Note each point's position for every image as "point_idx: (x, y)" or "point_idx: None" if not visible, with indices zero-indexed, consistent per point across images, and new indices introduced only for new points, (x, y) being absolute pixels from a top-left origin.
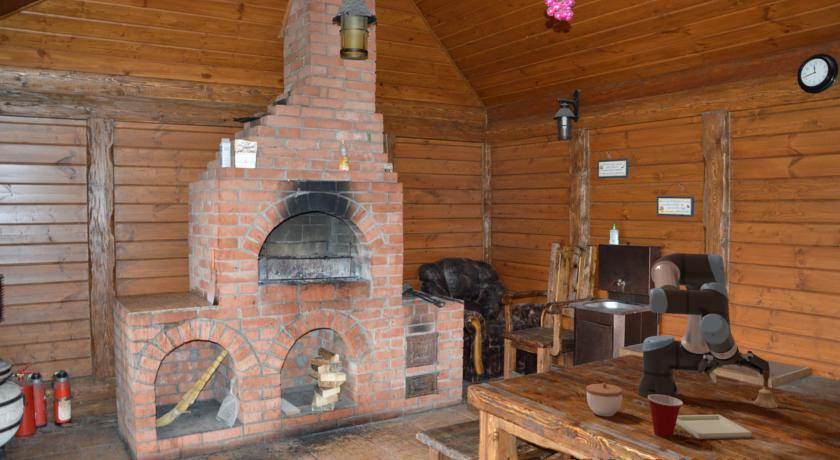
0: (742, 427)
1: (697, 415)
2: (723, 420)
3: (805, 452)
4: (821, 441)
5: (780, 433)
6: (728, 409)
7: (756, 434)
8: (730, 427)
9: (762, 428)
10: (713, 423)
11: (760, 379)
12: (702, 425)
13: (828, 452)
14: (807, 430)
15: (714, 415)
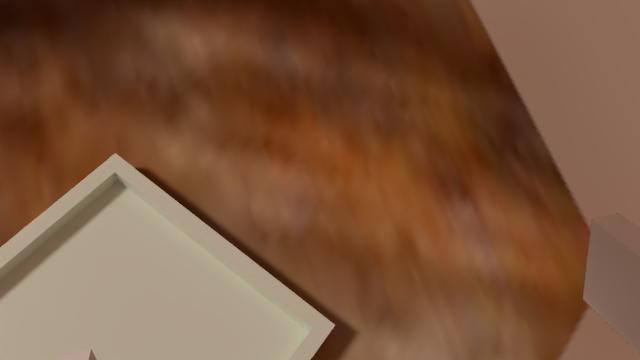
0: (275, 279)
1: (10, 248)
2: (153, 205)
3: (562, 353)
4: (524, 166)
5: (390, 175)
6: (119, 8)
7: (327, 261)
8: (209, 273)
9: (314, 160)
10: (116, 272)
11: (626, 331)
12: None
13: None
14: (437, 77)
15: (97, 183)
